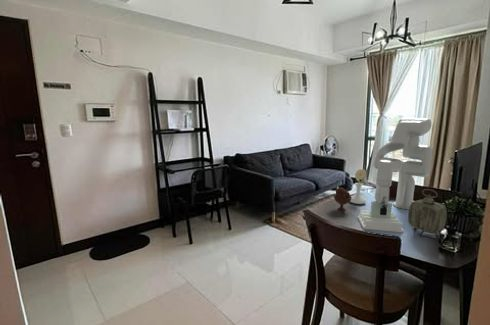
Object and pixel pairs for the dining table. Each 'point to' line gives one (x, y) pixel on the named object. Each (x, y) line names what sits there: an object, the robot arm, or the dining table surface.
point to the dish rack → (379, 222)
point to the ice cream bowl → (342, 198)
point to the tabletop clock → (427, 215)
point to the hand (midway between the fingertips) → (380, 211)
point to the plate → (376, 210)
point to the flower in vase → (357, 197)
